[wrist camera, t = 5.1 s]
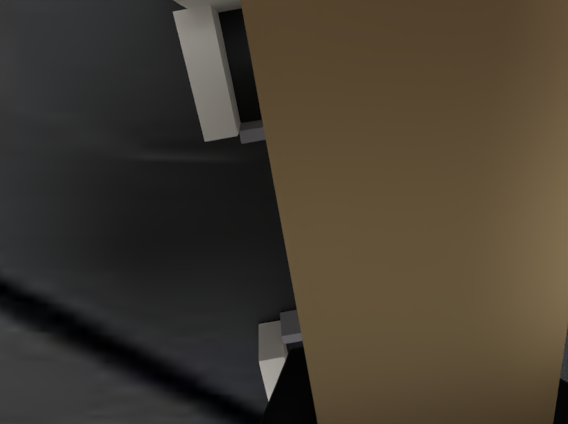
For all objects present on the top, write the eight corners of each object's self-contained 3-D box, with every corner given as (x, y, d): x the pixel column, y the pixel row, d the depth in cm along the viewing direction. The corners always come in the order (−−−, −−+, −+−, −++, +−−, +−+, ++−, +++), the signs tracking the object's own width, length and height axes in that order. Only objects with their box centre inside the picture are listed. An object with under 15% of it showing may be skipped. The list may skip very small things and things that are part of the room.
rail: (421, 471, 13) (511, 703, 8) (332, 486, 13) (373, 726, 8) (403, 0, 8) (628, -81, 3) (250, 27, 8) (238, -11, 3)
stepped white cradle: (417, 404, 19) (480, 545, 14) (282, 427, 19) (292, 577, 14) (394, -141, 11) (531, -331, 6) (159, -98, 11) (61, -246, 6)
